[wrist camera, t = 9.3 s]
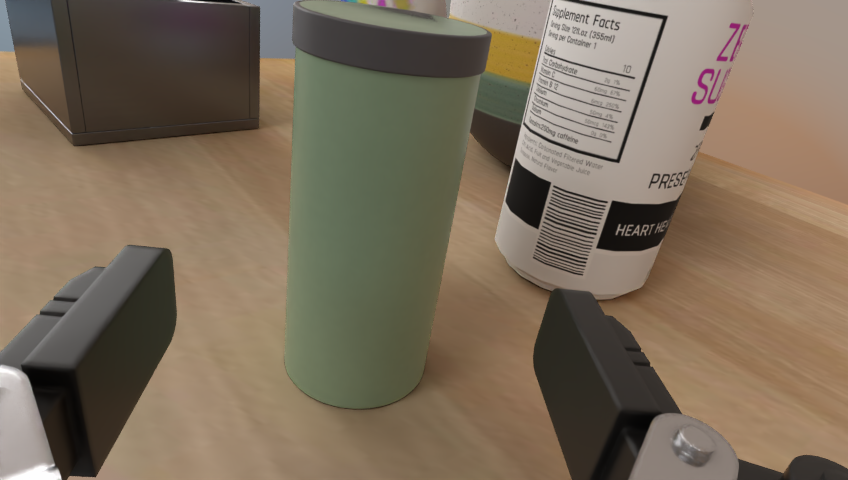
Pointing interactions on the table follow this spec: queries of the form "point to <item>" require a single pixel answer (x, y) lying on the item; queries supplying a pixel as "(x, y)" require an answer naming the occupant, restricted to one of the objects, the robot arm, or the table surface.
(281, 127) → the table surface
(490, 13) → the planter
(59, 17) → the dark grey box
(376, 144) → the spice tin
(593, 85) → the supplement can
